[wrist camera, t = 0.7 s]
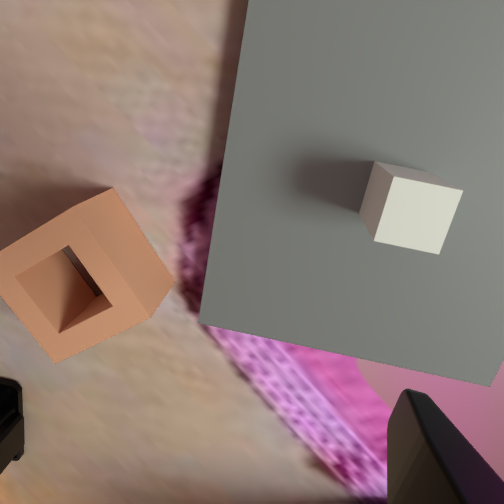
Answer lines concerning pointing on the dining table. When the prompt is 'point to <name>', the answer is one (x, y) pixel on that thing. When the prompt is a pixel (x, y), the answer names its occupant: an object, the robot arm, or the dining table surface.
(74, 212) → the collar
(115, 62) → the dining table surface
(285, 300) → the post plate
